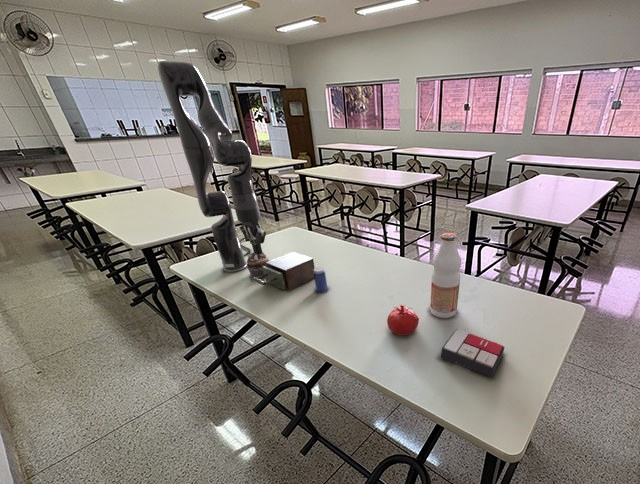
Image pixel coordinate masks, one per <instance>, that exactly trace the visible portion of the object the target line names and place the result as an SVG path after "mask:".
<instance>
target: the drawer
mask: <svg viewBox="0 0 640 484" xmlns="http://www.w3.org/2000/svg"><path fill="white" fill-rule="evenodd" d="M269 267H270V268H269ZM269 267H266V266H263V267H262V269H263V273H264V275H262V276H260V277H257V278H255V277H254V278H253V277H252V281H253V282H255V283H257V284H259V285H261V286H264V287H266V286H267V285H268V284H269V285H271V286H273V287H276V288H278V289H280V290H283V291H285V290H287V289H286V287H285V285H286V286H287V282H286V277H285V273H284V271H281V270H279V269H276V268H274V267H271V266H269ZM263 277H265V278H263ZM260 278H262V279H264V280H265V281H264V280H262V279H260Z"/></svg>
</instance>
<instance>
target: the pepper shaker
mask: <svg viewBox="0 0 640 484" xmlns="http://www.w3.org/2000/svg"><path fill="white" fill-rule="evenodd" d="M313 273H314V279H313V280H314V284H315V291H316V292H317V293H325V292H327V291H328V289H329V288H328V283H327V274H326V270H325V268H324V267H323V266H317V267H315V268H314V272H313Z"/></svg>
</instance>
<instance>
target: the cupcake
mask: <svg viewBox="0 0 640 484" xmlns="http://www.w3.org/2000/svg"><path fill="white" fill-rule="evenodd" d="M268 261H270V259H269V258H268V257H267V254H266V253H265V252H263V251H262V254H259V255H257V254H255V253H254V251H252V252H250V253H249V254H248V255H247V261H246V265H247V266H246V269H247V270H248V272H249V274H250V276H251V278H252V279H253V278H254V277H255V278H257V277H260V276H262V275H264V273H263V269H262V267H263V266H266V262H268ZM262 279H265V277H263V278H260V279H259V280H262Z"/></svg>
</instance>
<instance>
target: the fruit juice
mask: <svg viewBox="0 0 640 484" xmlns="http://www.w3.org/2000/svg"><path fill="white" fill-rule="evenodd" d="M440 241H441V244H440V245H439V248H438V250H437V252H436V253H435V255H434V256H433V259H432V265H433V270H432V274H431V283H430V284H431V285H430V286H431V287H430V305H429V309H430V312H431V314H432V315H433V316H434V317H437V318H440V319H448V318H449V319H450V318H452V317H454V316H455V315H456V314H457V312H458V304H459V295H460V284H461V272H460V269H461V266H462V257H461V255H460V253H459V251H458V247H457V241H458V235H457V234H456V233H454V232H444V233H442V234H441V236H440Z"/></svg>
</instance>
